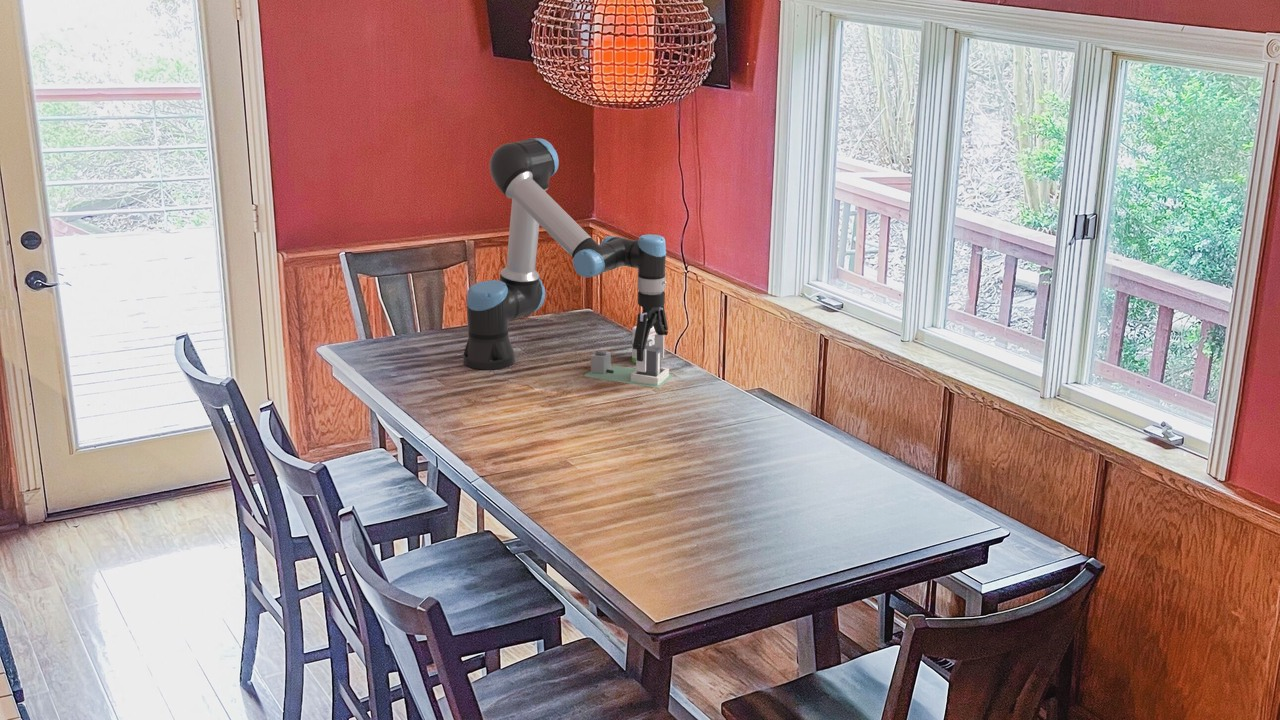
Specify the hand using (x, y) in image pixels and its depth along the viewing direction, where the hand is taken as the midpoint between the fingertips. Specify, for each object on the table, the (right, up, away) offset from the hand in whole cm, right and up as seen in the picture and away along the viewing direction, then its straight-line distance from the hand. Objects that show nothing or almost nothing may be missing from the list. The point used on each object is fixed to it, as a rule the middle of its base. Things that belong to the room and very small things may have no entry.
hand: (650, 364), depth 352 cm
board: (-6, -4, +4) cm, 9 cm away
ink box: (-1, 0, +17) cm, 17 cm away
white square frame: (0, -4, +1) cm, 4 cm away
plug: (0, -4, +1) cm, 4 cm away
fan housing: (-13, -2, +7) cm, 15 cm away
